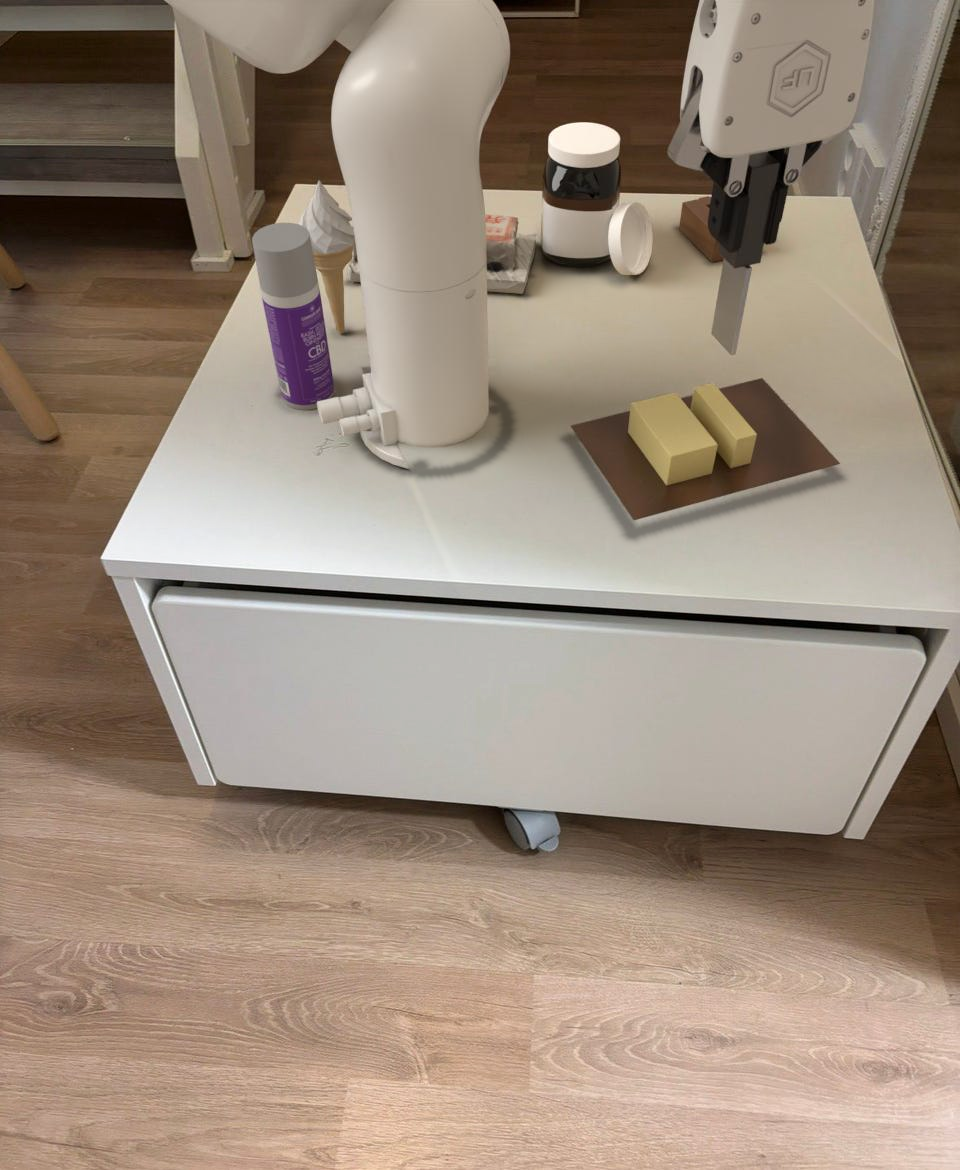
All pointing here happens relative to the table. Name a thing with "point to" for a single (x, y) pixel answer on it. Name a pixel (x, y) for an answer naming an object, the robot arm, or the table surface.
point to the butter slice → (724, 425)
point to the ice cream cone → (330, 246)
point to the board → (774, 458)
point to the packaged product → (495, 255)
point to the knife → (744, 251)
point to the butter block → (672, 438)
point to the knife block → (699, 227)
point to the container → (294, 314)
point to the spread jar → (590, 203)
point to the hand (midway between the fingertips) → (741, 236)
